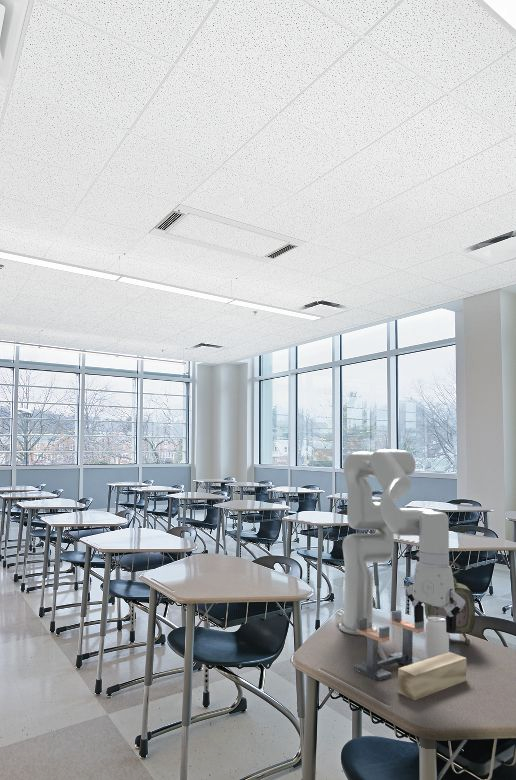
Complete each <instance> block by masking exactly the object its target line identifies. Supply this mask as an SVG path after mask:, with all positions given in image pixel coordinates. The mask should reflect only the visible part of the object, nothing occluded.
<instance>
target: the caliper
mask: <svg viewBox="0 0 516 780" xmlns="http://www.w3.org/2000/svg"><path fill="white" fill-rule="evenodd" d="M372 624H373V623H372ZM372 624H371V622H368V624H367V628H368V629H371V630H373V628H372ZM373 631H374V630H373ZM378 656H380V659H381V660H385V659H388V657H387V655H386V653H385V652H384V649H383V648H382V645H381V642H379V641H378Z"/></svg>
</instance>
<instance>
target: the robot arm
mask: <svg viewBox="0 0 516 780" xmlns="http://www.w3.org/2000/svg"><path fill="white" fill-rule="evenodd" d="M415 470H416V460H415V458H414V455H413V454H412V453H411V452H410V451H408V450H404V449H389V448H388V449H386V448H384V449H377V450H375V451H355V452H352V453H349V454H348V455H347V456H346V458H345V460H344V463H343V473H344V478H345V482H346V487H347V488H346V489H347V497H346V498H347V499H346V501H347V503H346V505H347V506H346V508H347V513H346V515H347V518H346V519H347V523H348V526H349V527H350V528H352V529H353V530H360V531H361V530H363V531H367V530H368V531H369V530H371V531H373V530H374V531H375V533H352V534H351V533H350V534H348V535H346V536H345V537H344V539H343V541H342V545H341V546H342V548H341V549H342V554H343V560H344V561H343V562H344V593H343V594H344V599H343V600H344V601H343V610H342V609H341V610H339V612H337V614H336V617H337V618H339V619H341V622H339V623H338V624H339V625H338V627H339V630H340V631H341V632H344V633H346V634H349V635H353V636H354V635H355V636H363V635H362V634H359V633H357V619H361V618H366V619H367V624H368V622H371V624H372V628H373V630H374V631H376V632H378V627H377V626H376V625H375V624H373V606H374V605H373V604H374V603H373V602H374V601H373V599H374V597H373V595H374V576H373V574H372V572H371V569H370V568H369V567H368V565H367V563H368V564H369V563H386V562H390V561H391V559H392V558H393V556H394V550H395V549H394V547H395V546H394V544H395V543H394V541H395V540H394V537H395V536H394V535H396V536H408V537H410V536H414V537H415V536H418V537H419V538H418V551H416V552H415V553H416V554H415V555H416V557H418V560H419V561H417V562H416V563H415V567H414V575H413V582H412V584H411V585H408V586H406V587H405V590H406V592H407V595H408V598H409V600H410V602H411V606H412V607H413V618H414V622H415V623H419V622H423V621H424V622H425V617H424V615H425V606H424V605H425V604H429V605H433V606H436V607H444V609H445V611H446V612H447V614H448V616H446V632H447V633H449V634H451V632H455V631H456V616H457V615H458V614H459V613H460V612H461V611H462V608H463V607H464V605H465V600H464V599H463V598H461V597H460V596H459V595H458V594H457V593H455V590H454V580H453V577H454V574H452V572H453V569H452V567H451V566H450V563H449V561H450V553H449V552H450V548H449V547H450V536H449V535H450V534H449V533H450V532H449V531H450V529H449V526H450V525H449V516H448V514H447V513H445V512H443V511H436V510H433V509H431V508H425V507H424V508H421V507H420V508H419V507H417V508H416V507H398V505H397V503H396V502H395V501H396V500H399V499H400V498H402V497H404V496H405V495H407V493H408V492H409V491H410V490H411V487H412V483H411V481H412V480H411V479H410V478H409V477H410V476H412V475H413V474H414V473H415ZM367 478H376V480H377V481H378V483H379V484H380V486H381V488H382V490H383V492H382V493H381V496H380V500H379V501H373V488H372V486H371V485H372V484H371V483H370V482H369V481H368V479H367ZM455 601H456V602H457V605H456V607H455V606H454V602H455ZM424 603H425V604H424ZM422 604H424V605H422Z"/></svg>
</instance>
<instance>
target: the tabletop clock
mask: <svg viewBox="0 0 516 780" xmlns="http://www.w3.org/2000/svg"><path fill="white" fill-rule="evenodd" d="M449 564H450V565H451V564H452V565H455V566H456V567H457V571H454V572H453V571H452V574H453V575H457V574H458V573H460V570H461V569H460V568H461V567H460V565H459V564H458V563H456V562H455V561H451V560H449ZM453 580H454V590H455V593H457V594H458V595H459V596H460V597H461V598H463V599H464V600H465V605H464V607H463V608H462V611H461V612H460V613H459V614H458V615H457V616H456V631H455V632H451V633H450V634H458V635H460V634H462V635H463V637H464V643H465V644H466V645H469V644H470V643H471V640H470V638H468V637H467V635H466V634H469V633H471V632H472V631H473V629H474V626H475V621H476V620H475V618H476V607H475V598H474V595H473V593H472V591H471V590H470V588H469V587H468V586H467V585H465V584H463V583H460V582H457V579H456V578H455V576H453ZM423 604H424V615H425V618H426V619H427V616H429V615H438V616H443V617H445V618H446V616H448V614H447V612H446V611H445V609H444V607H436V606H433V605H429V604H425V603H423ZM456 605H457V602H456V601H455V602H454V606H455V607H456ZM450 634H449V638H450V637H451V636H450Z"/></svg>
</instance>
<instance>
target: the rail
mask: <svg viewBox="0 0 516 780" xmlns="http://www.w3.org/2000/svg"><path fill="white" fill-rule="evenodd" d="M422 660H423V659H422ZM397 671H398V673H397V682H398V683H397V693H398V694H399V695H403V696H404V697H407V698H409V699H411V700H413V701H417V700H419V699H421V698H425V697H426V696H430V695H432V694H436V693H437V692H440V691H443V690H445V689H447V688H450V687H453V686H456V685H458V684H461V683H464V682H466V681H467V657H465V656H462V655H459V654H456V653H454V652H451V651H449V652H448V653H445V654H442V655H438V656H435V657H432V658H429V659H426V658H425V659H424V660H423V661H420V662H417V663H413V664H410V665H407V666H406V665H404V666H402V667H398V668H397Z"/></svg>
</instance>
